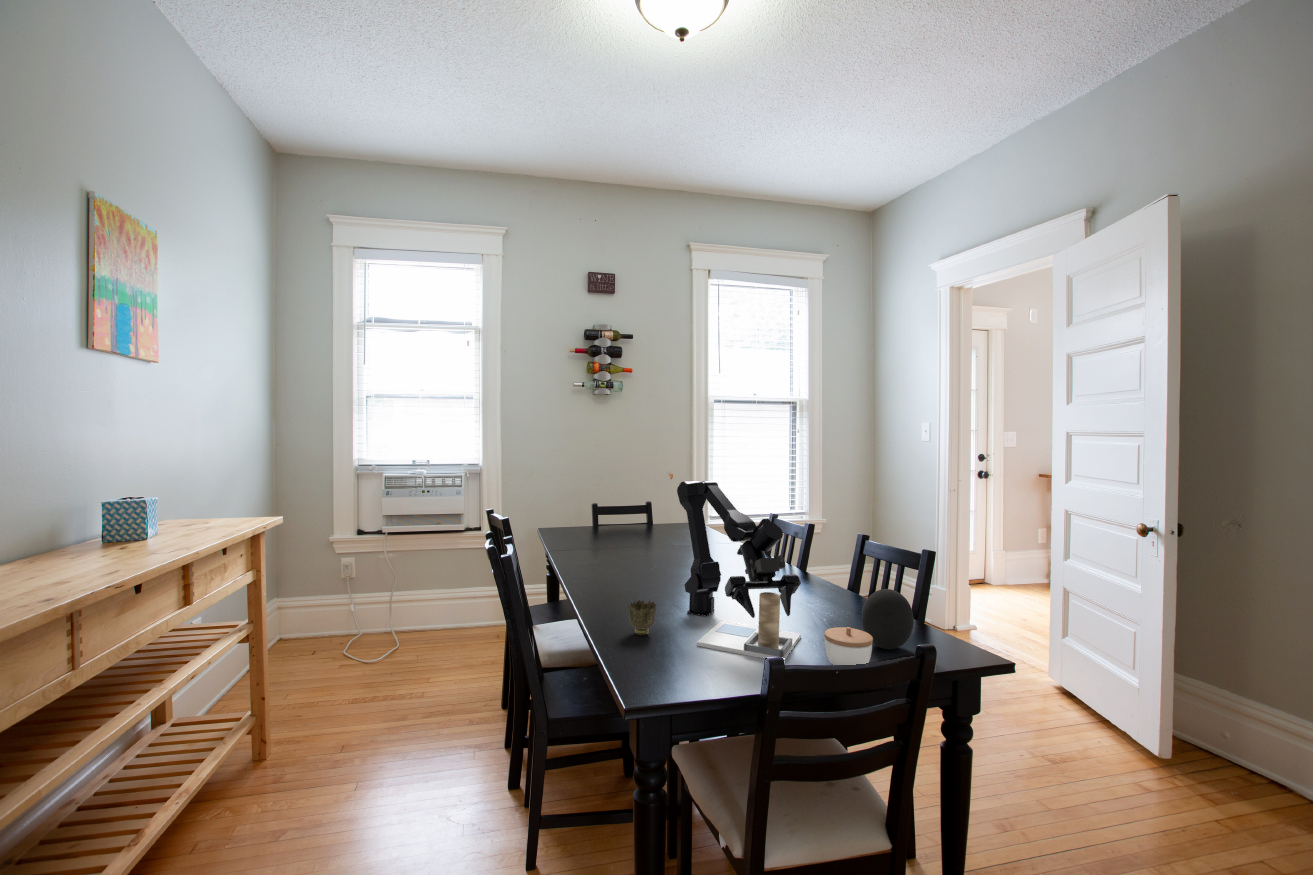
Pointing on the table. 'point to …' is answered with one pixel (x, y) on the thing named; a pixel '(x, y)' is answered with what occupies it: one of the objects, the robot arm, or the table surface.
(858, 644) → the lidded jar
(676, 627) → the table surface
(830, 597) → the table surface
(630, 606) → the cup
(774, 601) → the maple post
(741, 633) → the base plate
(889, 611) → the decorative egg
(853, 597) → the table surface
